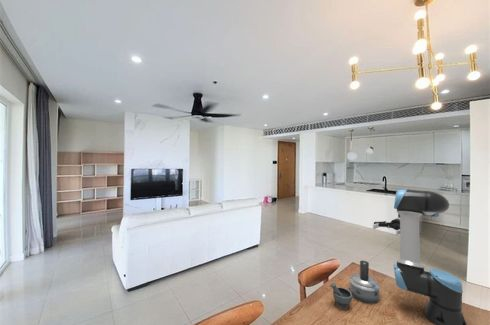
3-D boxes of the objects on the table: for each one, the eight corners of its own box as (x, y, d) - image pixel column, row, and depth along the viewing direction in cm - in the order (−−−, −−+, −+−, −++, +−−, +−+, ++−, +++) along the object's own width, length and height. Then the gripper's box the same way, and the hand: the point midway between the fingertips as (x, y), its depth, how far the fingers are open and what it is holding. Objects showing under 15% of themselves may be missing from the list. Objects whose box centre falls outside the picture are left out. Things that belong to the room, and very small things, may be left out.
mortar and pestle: (347, 299, 120) (347, 278, 120) (355, 311, 111) (355, 289, 110) (327, 298, 121) (327, 278, 120) (333, 310, 111) (334, 288, 111)
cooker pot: (384, 306, 114) (384, 291, 114) (353, 301, 118) (353, 287, 118) (373, 288, 130) (374, 275, 129) (346, 284, 133) (346, 272, 133)
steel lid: (379, 289, 116) (379, 269, 116) (355, 286, 119) (356, 266, 119) (371, 277, 128) (372, 258, 128) (350, 274, 131) (350, 256, 130)
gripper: (420, 234, 137) (407, 242, 125) (379, 224, 158) (364, 230, 146) (420, 223, 137) (407, 230, 125) (379, 214, 158) (364, 219, 146)
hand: (384, 230), depth 136 cm, fingers open, 13 cm apart
